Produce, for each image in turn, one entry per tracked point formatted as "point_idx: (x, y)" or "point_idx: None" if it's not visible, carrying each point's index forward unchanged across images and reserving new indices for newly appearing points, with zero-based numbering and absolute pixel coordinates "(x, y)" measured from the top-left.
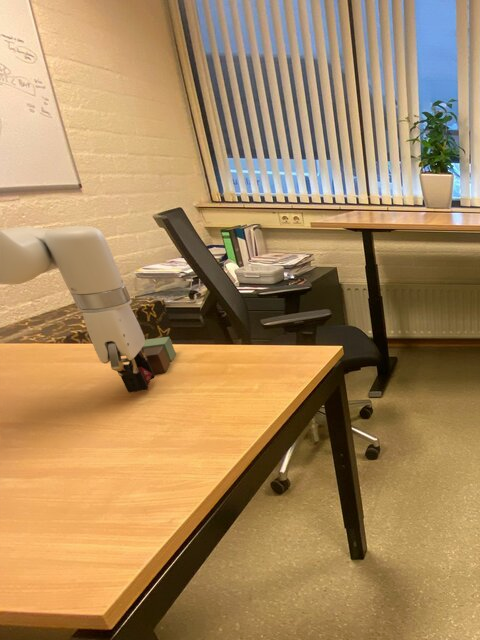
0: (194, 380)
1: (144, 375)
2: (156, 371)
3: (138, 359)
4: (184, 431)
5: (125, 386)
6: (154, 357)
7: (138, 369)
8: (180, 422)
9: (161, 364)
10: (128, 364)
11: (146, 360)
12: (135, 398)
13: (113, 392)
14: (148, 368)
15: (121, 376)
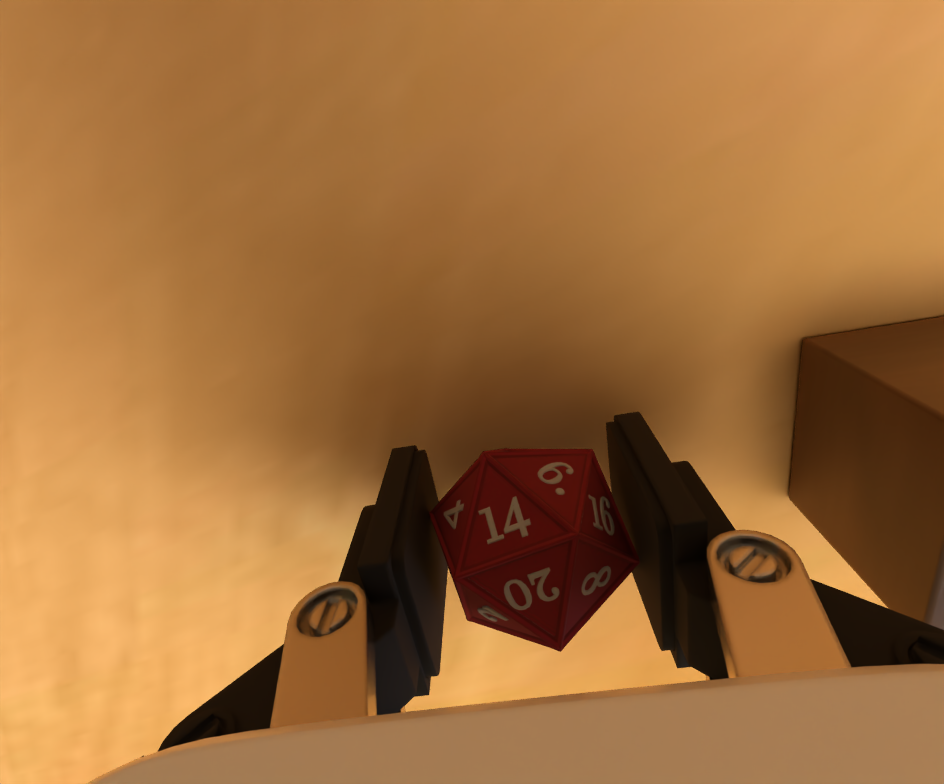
0: (566, 685)
1: (477, 620)
2: (804, 464)
3: (702, 647)
4: (14, 776)
5: (385, 476)
6: (900, 588)
7: (524, 626)
8: (85, 747)
9: (835, 549)
10: (671, 526)
11: (900, 505)
12: (372, 463)
13: (520, 248)
14: (642, 596)
15: (365, 556)
